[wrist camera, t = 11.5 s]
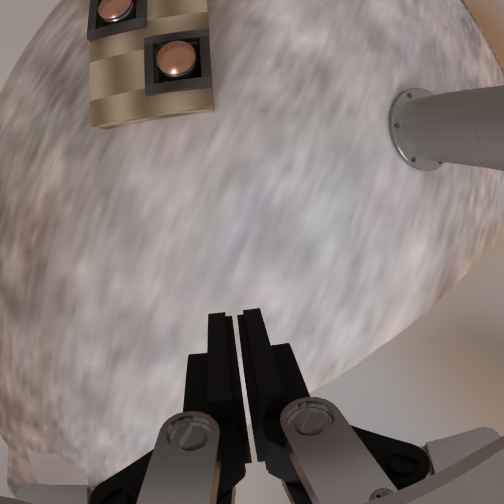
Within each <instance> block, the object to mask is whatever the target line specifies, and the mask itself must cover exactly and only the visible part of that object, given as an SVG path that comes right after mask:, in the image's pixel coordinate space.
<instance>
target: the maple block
mask: <svg viewBox="0 0 504 504" xmlns="http://www.w3.org/2000/svg"><path fill="white" fill-rule="evenodd" d="M132 1H133V3H134V4H135V6H136V19H131V20H127V21H123V22H119V23H115V24H111V25H108V24H107V23H106V22H105V21H104V20H103V19H102V17H101V16H100V15H99V13H98V7H99V5H100V3H101V2H102V0H91V1H90V9H89V18H88V29H87V39H88V40H89V41H90V63H89V101H90V125H91V126H93V127H98V128H103V129H108V128H113V127H118V126H122V125H127V124H132V123H138V122H143V121H149V120H154V119H161V118H167V117H174V116H181V115H189V114H197V113H206V112H214V107H213V93H212V78H211V63H210V46H209V28H208V9H207V0H132ZM173 41H184V42H187V43H188V44H190V45H191V46H192V47H193V49H194V51H195V55H200V57H201V75H202V77H199V78H190V79H183V80H176V81H169V82H163V73H162V71H161V70H160V68H159V67H158V65H157V55H158V52H159V51H160V49H161V48H162V47H163V46H165V45H166V44H168V43H170V42H173Z"/></svg>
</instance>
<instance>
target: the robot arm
mask: <svg viewBox="0 0 504 504" xmlns="http://www.w3.org/2000/svg"><path fill="white" fill-rule="evenodd" d="M389 128H390V134H391V138H392V141H393V144H394V146H395V148H396V150H397V152H398V153H399V155H400V156H401V157H402V158H403V159H404V160H405V162H406V163H408V164H409V165H411V166H412V167H414V168H417V169H420V170H429V171H430V170H435V169H437V168H439V167H441V166H442V165H443V164H444V163H445V162H447V163H455V164H463V165H470V166H477V167H484V168H490V169H496V170H502V171H504V85H503V86H495V87H486V88H478V89H470V90H463V91H456V92H450V93H443V94H438V95H434V94H433V93H431V92H429V91H427V90H424V89H419V88H414V89H409V90H406V91H404V92H402V93H401V94H399V96H398V97H397V98H396V99H395V101H394V103H393V104H392V107H391V110H390V116H389ZM237 318H238V326H239V335H240V343H241V352H242V360H243V368H244V376H245V383H246V390H247V397H248V403H249V410H250V416H251V423H252V429H253V435H254V441H255V447H256V454H257V460H258V462H262V461H265V464H266V468H267V470H268V473H270V474H272V475H273V476H276V477H277V478H279V479H281V481H282V485H283V487H284V489H285V492H286V494H287V496H288V498H289V501H290V503H291V504H504V436H502V437H501V436H500V435H499V434H498V432H496V431H495V430H493V429H491V428H487V427H481V428H477V429H474V430H471V431H467V432H464V433H461V434H458V435H454V436H450V437H446V438H442V439H438V440H434V441H430V442H426V444H425V446H421V447H418V446H415V445H413V444H410V443H406V442H403V441H399V440H396V439H392V438H389V437H385V436H382V435H379V434H376V433H372V432H369V431H366V430H363V429H360V428H357V427H354V426H351V425H350V424H349V423H348V422H347V420H346V419H345V417H344V416H343V415H342V413H341V412H340V410H339V409H338V408H337V407H336V406H335V405H334V404H333V403H331V402H330V401H328V400H326V399H322V398H318V397H310V395H309V392H308V390H307V387H306V385H305V382H304V380H303V377H302V374H301V372H300V369H299V367H298V364H297V361H296V359H295V356H294V354H293V351H292V349H291V346H290V344H289V343H286V344H279V345H272V346H271V345H270V342H269V338H268V335H267V331H266V328H265V324H264V321H263V318H262V314H261V311H260V308H258V309H249V310H243V315H237ZM245 463H252V460H251V453H250V446H249V439H248V432H247V425H246V418H245V411H244V404H243V396H242V389H241V381H240V374H239V366H238V359H237V351H236V344H235V336H234V328H233V320H232V316H226V315H225V312H223V313H213V314H208V352H207V353H201V354H189V356H188V363H187V373H186V384H185V395H184V407H183V413H179V414H176V415H174V416H172V417H170V418H169V419H168V420H167V421H166V422H165V423H164V424H163V426H162V427H161V429H160V432H159V435H158V438H157V441H156V444H155V447H154V449H153V450H152V451H150V452H149V453H147V454H146V455H144V456H143V457H141V458H140V459H138V460H137V461H135V462H134V463H132V464H131V465H129V466H127V467H126V468H124V469H123V470H121V471H120V472H118V473H116V474H115V475H113V476H112V477H110V478H108V479H107V480H105V481H103V482H102V483H100V484H99V485H98V486H97V487H95V488H89V487H88V486H87V485H44V484H27V485H25V486H23V487H21V489H20V490H19V491H18V492H17V496H16V499H13V498H8V497H2V496H0V504H235V494H236V488H235V485H236V484H237V483H238V482H239V481H240V480H242V479H243V478H244V476H245V473H246V469H245Z"/></svg>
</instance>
